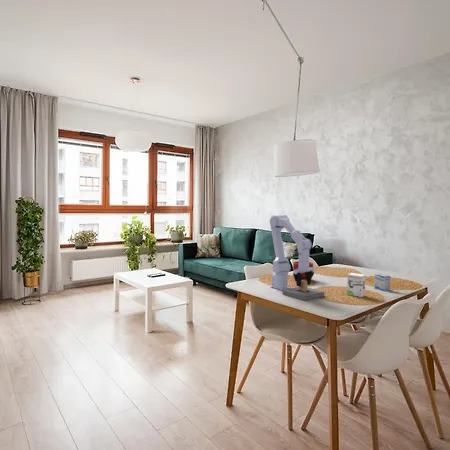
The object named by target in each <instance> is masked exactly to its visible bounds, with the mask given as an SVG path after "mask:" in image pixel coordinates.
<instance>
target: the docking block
mask: <svg viewBox="0 0 450 450" xmlns="http://www.w3.org/2000/svg"><path fill="white" fill-rule="evenodd" d="M282 295H284V296H287V297H290V298H294V299H297V300H301V301H305V302H306V301H310V300H314V299H317V298H322V297H325V291H323V290H319V289H315V288H311V287H308V286H307V292H306V293H303V292H300V287H299V286H295V287H292V288H289V289H284V290H282Z"/></svg>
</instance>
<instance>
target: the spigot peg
mask: <svg viewBox="0 0 450 450" xmlns="http://www.w3.org/2000/svg"><path fill="white" fill-rule="evenodd" d="M307 287H308V284H307V281H305V280H301V287H300V292H303V293H306V292H307Z"/></svg>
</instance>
